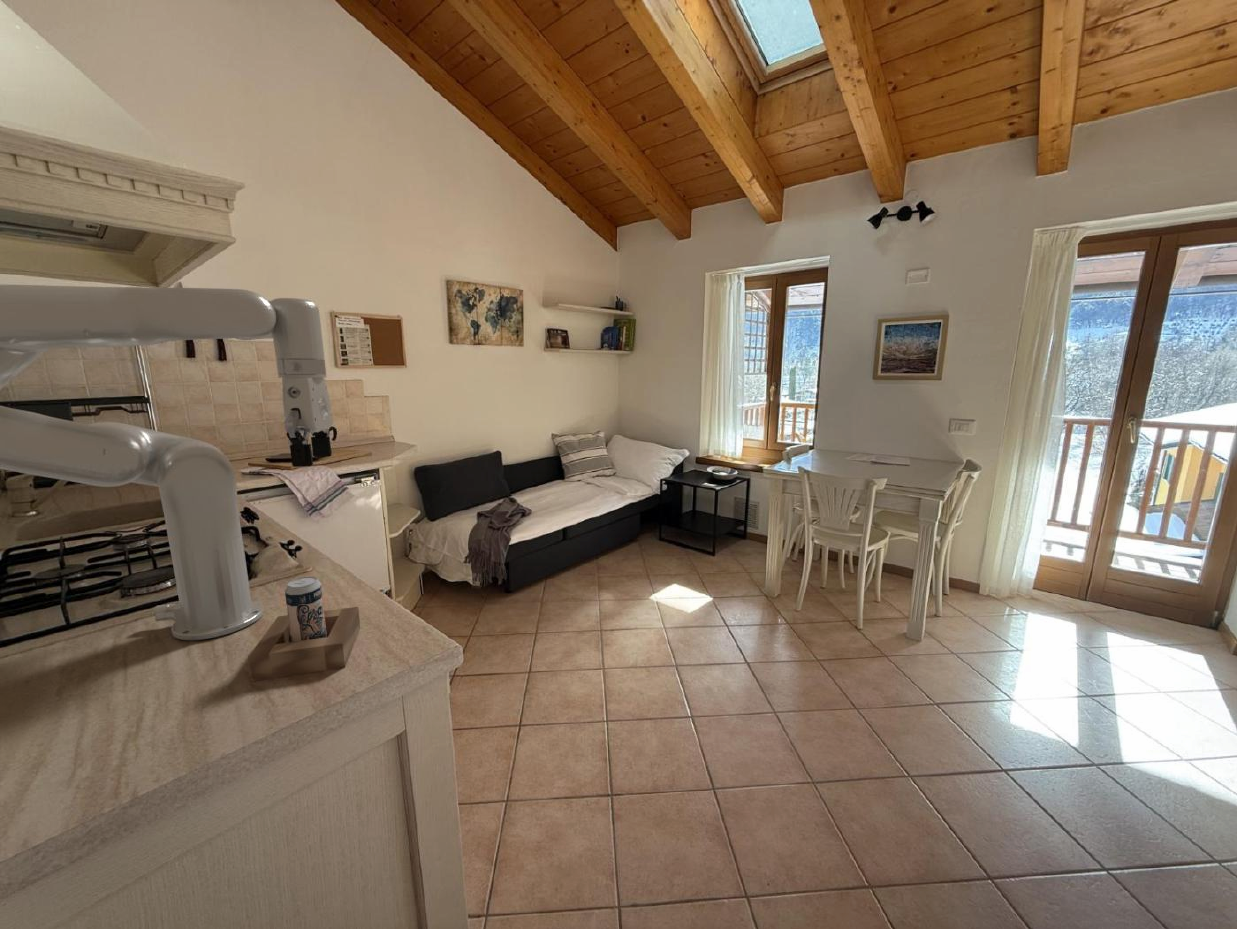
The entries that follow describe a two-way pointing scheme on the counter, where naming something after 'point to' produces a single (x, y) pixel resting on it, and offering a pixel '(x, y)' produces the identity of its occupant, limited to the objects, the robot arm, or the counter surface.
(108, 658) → the counter surface
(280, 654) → the walnut socket block
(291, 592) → the beer can
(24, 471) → the robot arm
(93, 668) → the counter surface
